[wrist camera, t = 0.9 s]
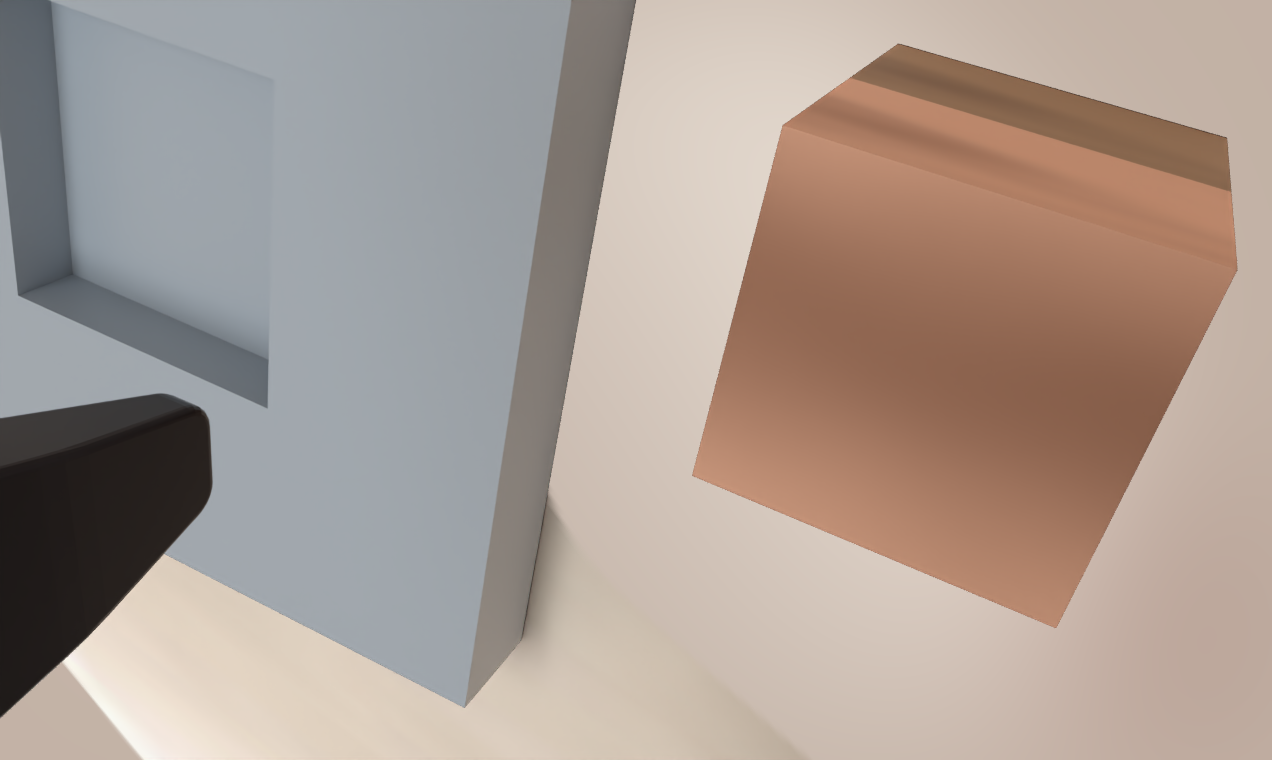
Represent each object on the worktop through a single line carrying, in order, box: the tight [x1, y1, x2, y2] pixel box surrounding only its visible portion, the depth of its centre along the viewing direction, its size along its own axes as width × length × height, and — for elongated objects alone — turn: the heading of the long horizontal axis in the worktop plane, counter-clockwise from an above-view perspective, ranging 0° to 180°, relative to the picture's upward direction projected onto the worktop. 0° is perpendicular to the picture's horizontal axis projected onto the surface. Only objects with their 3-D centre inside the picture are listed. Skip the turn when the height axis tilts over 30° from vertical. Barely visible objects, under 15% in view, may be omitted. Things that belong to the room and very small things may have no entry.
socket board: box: [0, 0, 636, 708], centre depth 24 cm, size 18×18×2 cm
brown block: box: [692, 44, 1237, 628], centre depth 16 cm, size 5×5×6 cm
